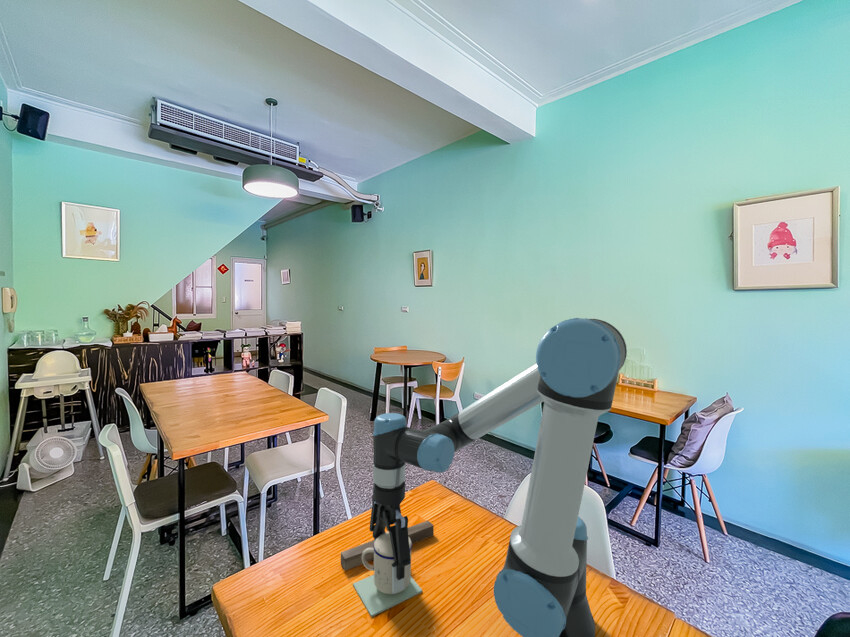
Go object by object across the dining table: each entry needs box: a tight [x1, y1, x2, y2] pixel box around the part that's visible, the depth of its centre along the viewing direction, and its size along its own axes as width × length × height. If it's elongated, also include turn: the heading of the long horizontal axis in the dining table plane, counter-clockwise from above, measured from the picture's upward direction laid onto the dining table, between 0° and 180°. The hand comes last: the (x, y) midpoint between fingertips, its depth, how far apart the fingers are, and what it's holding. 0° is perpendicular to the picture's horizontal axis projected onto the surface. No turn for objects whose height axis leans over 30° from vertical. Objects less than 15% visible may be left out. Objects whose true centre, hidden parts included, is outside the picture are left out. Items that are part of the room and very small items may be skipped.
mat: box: [352, 574, 423, 618], centre depth 83 cm, size 10×13×1 cm
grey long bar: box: [340, 520, 435, 572], centre depth 95 cm, size 8×27×6 cm, turn 123°
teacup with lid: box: [362, 531, 413, 594], centre depth 83 cm, size 12×9×12 cm
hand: (388, 576), depth 83 cm, fingers closed on teacup with lid, 9 cm apart
